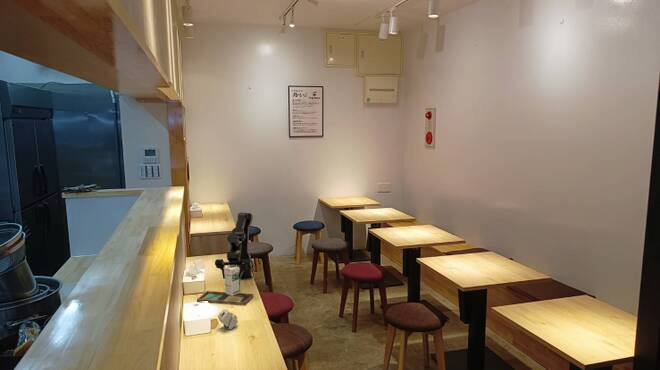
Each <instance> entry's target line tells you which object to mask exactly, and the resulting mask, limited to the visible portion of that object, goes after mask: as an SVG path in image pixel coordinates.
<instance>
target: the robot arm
mask: <svg viewBox="0 0 660 370" xmlns="http://www.w3.org/2000/svg"><path fill="white" fill-rule="evenodd" d="M253 221H254V215H253V214H252V213H251V212H238V214H237V220H236V223H235V224H236V225H235V227H234V228H233V229H232V230H231V232H230V233H229V235H227V237H226V241H227V243H228V246H229V251H226V259H227V261H224V259H223V258H221V259H219V258H218V259H217V258H216V260H215V261H214V265H215V268H216V269H219V270H221V274H222V278H223V280H225V278H224V267H226V266H230V265H236V266H239V272H240V273H239V279H240V280H247V279H248V280H249V279H252V278H253V276H252V269H253V268H254V262H253V259H252V258H251V257H252V256H251V254H250V252H249V241H250V238H249V236H250V233H249V232H250V228H251V225H252V224H253Z"/></svg>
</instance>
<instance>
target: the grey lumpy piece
mask: <svg viewBox="0 0 660 370" xmlns="http://www.w3.org/2000/svg"><path fill="white" fill-rule="evenodd" d="M217 318H218V321H219V322H220V323H221V324H222V325H223V326H224V327H225V328H226V327H227V330H229V329H231V330H232V329H234V328H235V327H234V326H236V325H237V324H238V323H239V320H238V316H237V315H236V314H235V313H233V312H231V311H229V310H228V309H226V308H224V309H222V310H221V311H220V312H219V313H218V314H217ZM233 327H234V328H233Z"/></svg>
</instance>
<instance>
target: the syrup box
mask: <svg viewBox="0 0 660 370" xmlns="http://www.w3.org/2000/svg"><path fill="white" fill-rule="evenodd" d="M239 270H240V268H239V266H237V265H227V266H225V267H224V290H225V291H224V292H225V293H226V294H229V295H232V296H231V297H234V296H233V295H235V294H237V293H241V278H240V279H239V273H240V272H239Z"/></svg>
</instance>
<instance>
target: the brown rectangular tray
mask: <svg viewBox="0 0 660 370" xmlns="http://www.w3.org/2000/svg"><path fill="white" fill-rule="evenodd" d="M229 296H231V297H243V298H242V299H241V300H239V301H237V300H236V301H235V300H225V299H226V298H228V297H229ZM254 297H255V296H254V293H245V292H242V293H241V292H240V293H237V294H235V295H233V296H232V295H229V294H226V293H225V291H215V290H207V291H205V292H204V293H203V294H201V295H200V296H199V297H197V298H196V302H197V303H201V302H200V301H208V302H209V303H208V304H219V305H220V304H221V305H235V306H246V305H248V304H249V302H250V301H251V300H252V299H253V298H254Z"/></svg>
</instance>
